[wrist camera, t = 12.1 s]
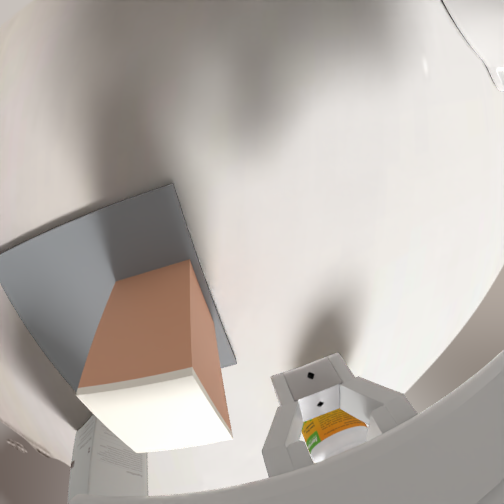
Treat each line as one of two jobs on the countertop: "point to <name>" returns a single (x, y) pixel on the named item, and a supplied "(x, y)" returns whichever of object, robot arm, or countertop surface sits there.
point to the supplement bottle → (333, 434)
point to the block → (157, 364)
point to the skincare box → (105, 464)
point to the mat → (96, 273)
